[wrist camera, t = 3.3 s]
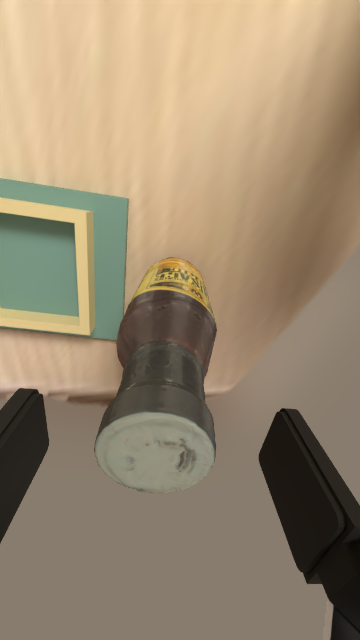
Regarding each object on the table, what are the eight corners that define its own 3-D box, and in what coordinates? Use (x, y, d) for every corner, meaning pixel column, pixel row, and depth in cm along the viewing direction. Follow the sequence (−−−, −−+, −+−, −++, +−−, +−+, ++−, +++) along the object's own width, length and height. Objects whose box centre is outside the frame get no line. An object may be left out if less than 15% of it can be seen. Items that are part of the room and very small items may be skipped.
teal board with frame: (128, 198, 22) (122, 197, 19) (122, 337, 28) (118, 350, 26) (-70, 167, 20) (-104, 162, 18) (-28, 321, 27) (-49, 333, 24)
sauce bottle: (213, 277, 25) (309, 450, 7) (178, 319, 27) (190, 532, 10) (163, 239, 23) (133, 350, 6) (130, 288, 26) (34, 479, 8)
